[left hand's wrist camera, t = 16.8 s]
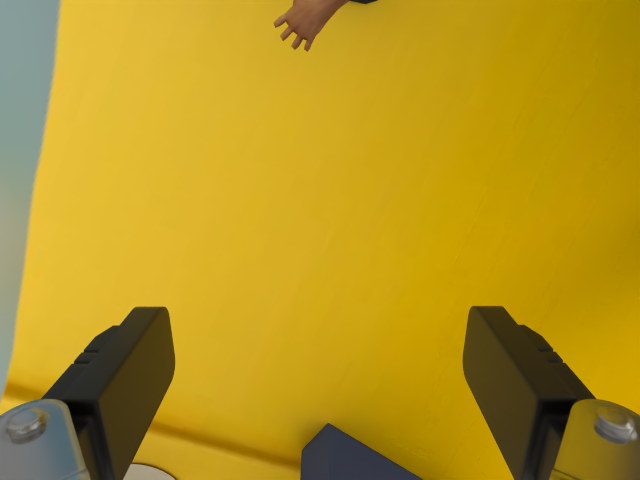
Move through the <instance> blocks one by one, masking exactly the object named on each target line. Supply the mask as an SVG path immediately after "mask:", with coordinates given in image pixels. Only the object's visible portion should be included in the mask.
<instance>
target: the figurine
mask: <svg viewBox="0 0 640 480" xmlns="http://www.w3.org/2000/svg"><path fill="white" fill-rule="evenodd" d="M348 1H353V2H358V3H363V4H367V3H370V2H374V1H377V0H294V1H293V6H292V7H291V8H290V9H289V10H288V11H287V12H286V13H285V14H284V15H282V16H281V17H279V18H278V19H277V20H276V21H275V22H274V26H275V28H276V27H278V26H280V25H282V24H283V23H284V22H285V21H286V22H287V24H288V25H289V27H288V28H287V29H286V30H285V31H284V32H283V33H282V34H281V35H280V37H281V38H282V40H283V41H284V40H285V39H286V38H287V37H288V36H289V35H290V34H291V33H292V32H295V33H296V34H297V37H296V39H295V40H294V42H293V44H292V47H293V48H294V49H296V48H298V47H299V45H300V44H301V42H302V40H303V39H304V40H307V41H306V44H305V47H304V50H306V51H307V52H308V50H309V49H310V47H311V44H312V42H313V40H314V38H315V36H316V35H317V34H318V33H319V32H320V31H321V29H322V28H323V26H324V25H325V24H326V23H327V21H328V20H329V19H330V18H331V17H332V15H333V14H334V13H335V12H336V11H337V10H338V9H339V8H340V7H341V6H343V5H344V4H345V3H347V2H348Z"/></svg>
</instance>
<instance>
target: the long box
mask: <svg viewBox="0 0 640 480" xmlns="http://www.w3.org/2000/svg"><path fill="white" fill-rule="evenodd" d="M300 480H422V479H421V478H419V477H417V476H416V475H414V474H412V473H411V472H409V471H407V470H406V469H404V468H402V467H401V466H399V465H397V464H396V463H394V462H392V461H391V460H389V459H387V458H386V457H384V456H382V455H381V454H379V453H377V452H376V451H374V450H372V449H371V448H369V447H367V446H366V445H364V444H362V443H360V442H359V441H357V440H355V439H354V438H352V437H350V436H349V435H347V434H345V433H344V432H342V431H340V430H339V429H337V428H335V427H334V426H332V425H330V424H329V423H328V424H327V425H326V426H325V427H324V428H323V429H322V430H321V431H320V432H319V433H318V434H317V435H316V436H315V438H314V439H313V440H312V441H311V442H310V443H309V444H308V445H307V446H306V447H305V448H304V449H303V450H302V458H301V478H300Z"/></svg>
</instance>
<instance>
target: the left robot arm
mask: <svg viewBox="0 0 640 480" xmlns="http://www.w3.org/2000/svg"><path fill="white" fill-rule="evenodd" d="M174 370H175V353H174V346H173V339H172V332H171V325H170V318H169V313H168V310H167V308H166V307H135V308H134V309H133V310H132V311H131V312H130V313H129V315H128V316H127V317H126V318H125V319H124V321H123V322H122V323H121V324H120V326H112V327H110V328H109V329H107V330H106V331H104V332H102V333H101V334H99V335H98V336H96V337H95V338H94V339H93V340H92V341H91V343H90V344H89V345H88V346H87V347H86V348H85V349H84V353H81V354H80V355H79V356H78V357H77V358H76V360H75V361H74V364H71V365H70V366H69V368H68V369H67V370H66V371H65V372H64V373H63V374H62V376H61V377H60V378H59V379H58V380H57V381H56V382H55V384H54V385H53V386H52V387H51V388H50V389H49V390H48V392H47V393H46V394H45V395H44V396H43V397H42V398H41V400H35V401H31V402H28V403H24V404H22V405H19V406H17V407H15V408H13V409H11V410H9V411H7V412H5V413H4V414H2V415H1V416H0V480H123V479H124V477H125V475H126V473H127V471H128V469H129V467H130V465H131V463H132V461H133V458H134V456H135V454H136V452H137V450H138V448H139V446H140V444H141V442H142V440H143V438H144V436H145V434H146V432H147V430H148V428H149V426H150V424H151V422H152V420H153V418H154V416H155V414H156V412H157V410H158V408H159V406H160V404H161V402H162V400H163V398H164V396H165V394H166V392H167V390H168V388H169V386H170V384H171V381H172V379H173V375H174ZM463 370H464V375H465V379H466V381H467V383H468V385H469V387H470V389H471V391H472V393H473V395H474V398H475V400H476V402H477V404H478V406H479V408H480V410H481V412H482V414H483V416H484V418H485V420H486V422H487V424H488V426H489V428H490V430H491V432H492V434H493V436H494V439H495V441H496V443H497V445H498V447H499V449H500V451H501V453H502V455H503V457H504V459H505V461H506V463H507V465H508V467H509V469H510V471H511V473H512V475H513V478H514V480H640V416H639V415H638V414H636V413H635V412H633V411H631V410H629V409H627V408H625V407H623V406H621V405H618V404H616V403H612V402H609V401H605V400H599V399H596V398H595V397H594V396H593V394H592V393H591V392H590V391H589V390H588V389H587V387H586V386H585V385H584V384H583V383H582V382H581V381H580V379H579V378H578V377H577V376H576V375H575V374H574V373H573V371H572V370H571V369H570V368H569V367H568V366H567V364H566V363H563V360H562V359H561V358H560V356H559V355H558V354H557V353H556V352H553V348H552V347H551V346H550V345H549V344H548V343H547V341H546V340H545V339H544V338H543V337H542V336H541V335H539V334H538V333H536V332H535V331H533V330H531V329H530V328H528V327H527V326H525V325H518V324H517V323H516V322H515V321H514V319H513V318H512V317H511V316H510V315H509V313H508V312H507V311H506V310H505V308H504V307H502V306H472V307H471V309H470V311H469V315H468V322H467V329H466V337H465V344H464V351H463Z"/></svg>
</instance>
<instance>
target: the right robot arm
mask: <svg viewBox="0 0 640 480" xmlns="http://www.w3.org/2000/svg"><path fill="white" fill-rule="evenodd" d="M123 480H175V479H174V478H173V477H172V476H170V475H169V474H167V473H165V472H163V471H161V470H159V469H156V468H154V467H150V466H146V465H140V464H131V465H130V467H129V469H128V471H127V473H126V475H125V477H124V479H123Z"/></svg>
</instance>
